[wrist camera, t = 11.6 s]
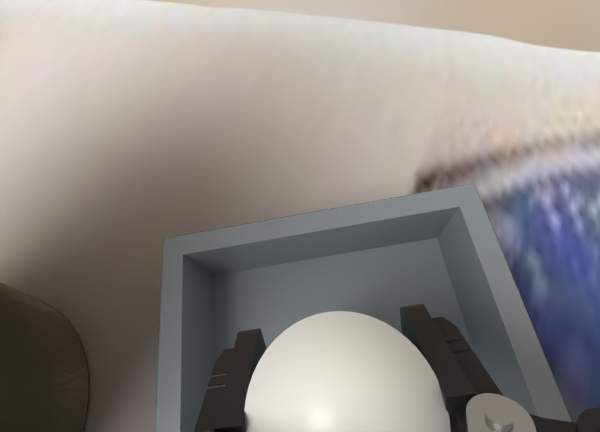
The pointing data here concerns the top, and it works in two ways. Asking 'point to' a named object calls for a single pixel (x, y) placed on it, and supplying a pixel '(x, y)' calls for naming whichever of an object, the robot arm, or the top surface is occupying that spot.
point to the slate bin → (346, 290)
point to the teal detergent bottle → (344, 380)
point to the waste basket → (39, 368)
